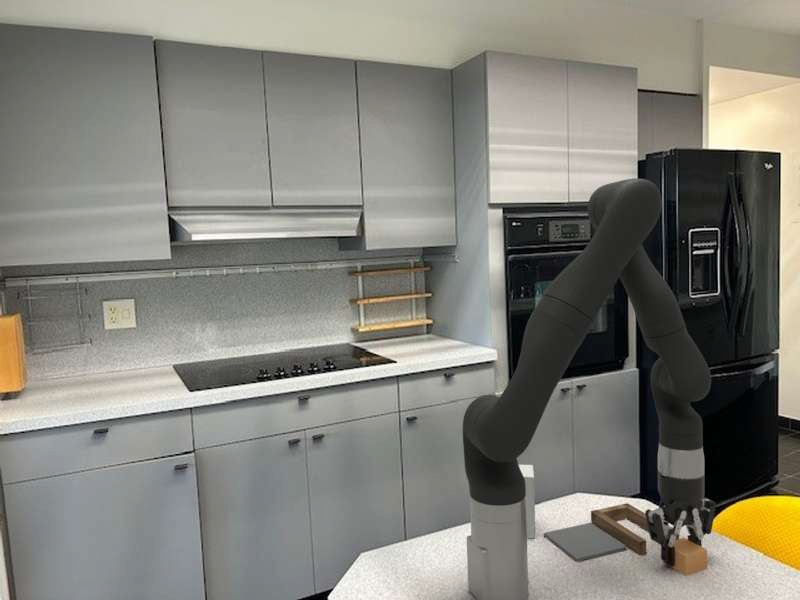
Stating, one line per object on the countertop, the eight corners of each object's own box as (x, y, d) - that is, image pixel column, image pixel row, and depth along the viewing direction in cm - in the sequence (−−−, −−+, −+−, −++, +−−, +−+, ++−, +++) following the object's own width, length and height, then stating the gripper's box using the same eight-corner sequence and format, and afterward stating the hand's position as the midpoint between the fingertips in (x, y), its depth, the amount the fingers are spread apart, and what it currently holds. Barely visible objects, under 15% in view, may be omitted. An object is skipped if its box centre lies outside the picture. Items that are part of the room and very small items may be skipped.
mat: (576, 561, 111) (576, 558, 111) (543, 535, 122) (543, 532, 122) (626, 549, 115) (626, 546, 115) (590, 525, 125) (590, 522, 125)
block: (685, 575, 105) (685, 556, 105) (663, 562, 110) (663, 543, 110) (707, 568, 107) (707, 549, 107) (684, 555, 112) (684, 537, 112)
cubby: (639, 555, 113) (639, 542, 113) (591, 522, 127) (590, 511, 126) (679, 545, 116) (679, 532, 116) (627, 514, 130) (627, 503, 129)
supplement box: (535, 539, 121) (534, 477, 120) (498, 537, 122) (496, 476, 121) (535, 522, 128) (533, 464, 127) (499, 520, 129) (497, 463, 128)
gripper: (696, 456, 114) (696, 543, 115) (632, 468, 109) (634, 559, 111) (729, 469, 107) (729, 562, 108) (663, 483, 102) (664, 580, 104)
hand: (681, 560), depth 109 cm, fingers closed on block, 5 cm apart
